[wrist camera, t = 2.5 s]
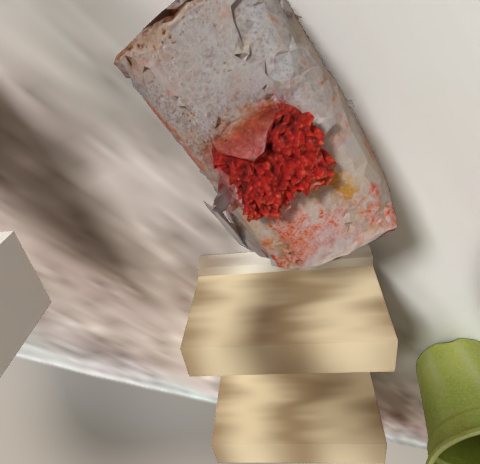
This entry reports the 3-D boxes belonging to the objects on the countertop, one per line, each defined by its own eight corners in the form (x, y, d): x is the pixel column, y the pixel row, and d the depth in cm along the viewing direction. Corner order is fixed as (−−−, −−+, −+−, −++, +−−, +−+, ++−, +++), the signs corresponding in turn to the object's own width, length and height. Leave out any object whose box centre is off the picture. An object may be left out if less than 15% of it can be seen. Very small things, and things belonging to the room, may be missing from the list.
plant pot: (374, 380, 35) (400, 485, 28) (433, 308, 30) (484, 414, 23) (468, 405, 36) (517, 514, 28) (541, 340, 31) (623, 452, 23)
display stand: (368, 243, 27) (399, 330, 20) (363, 374, 34) (384, 469, 28) (200, 255, 29) (177, 339, 22) (229, 377, 36) (219, 467, 29)
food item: (385, 160, 24) (443, 255, 16) (276, 222, 27) (277, 330, 19) (255, -62, 18) (238, -97, 10) (137, 47, 21) (50, 90, 13)
